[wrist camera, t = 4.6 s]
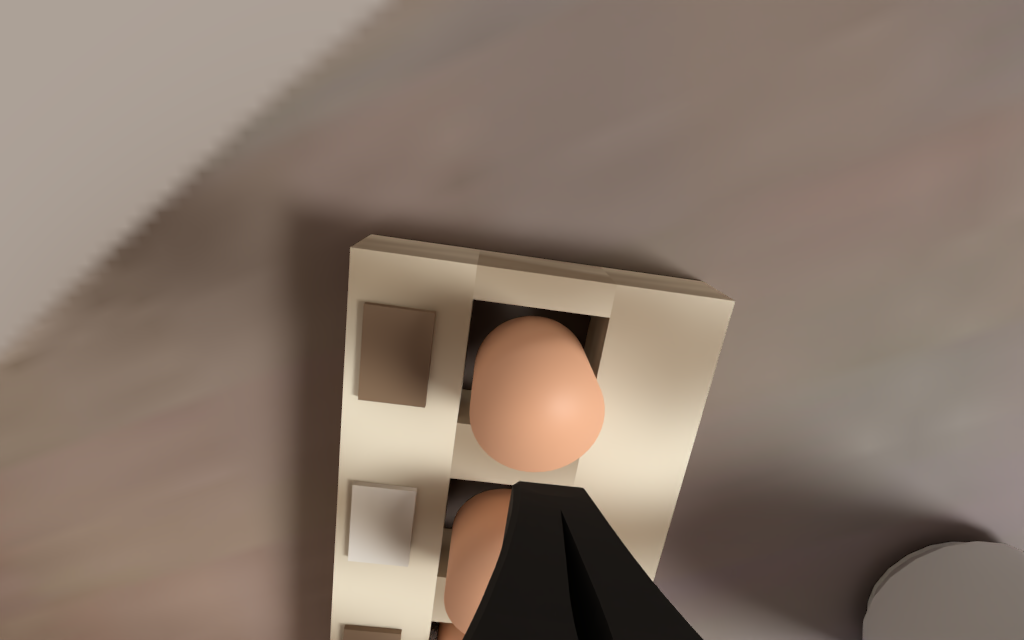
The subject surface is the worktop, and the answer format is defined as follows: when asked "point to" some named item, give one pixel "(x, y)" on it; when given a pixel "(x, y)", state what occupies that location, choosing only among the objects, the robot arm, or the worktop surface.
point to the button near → (534, 396)
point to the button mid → (474, 553)
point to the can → (950, 595)
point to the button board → (445, 410)
